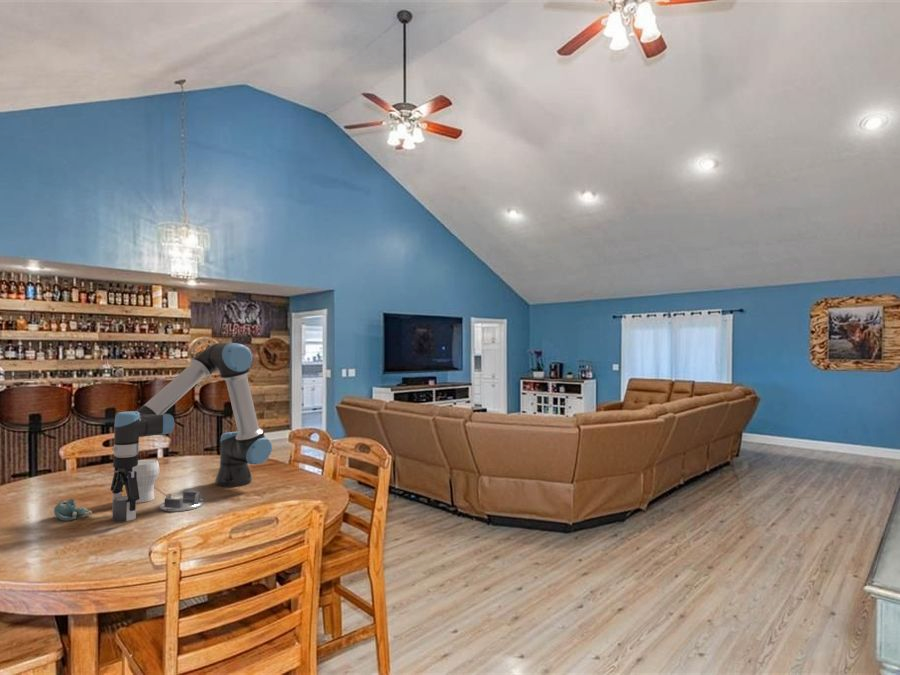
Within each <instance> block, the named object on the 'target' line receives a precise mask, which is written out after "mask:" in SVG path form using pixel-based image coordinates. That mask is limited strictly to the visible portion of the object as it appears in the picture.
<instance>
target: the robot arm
mask: <svg viewBox="0 0 900 675" xmlns="http://www.w3.org/2000/svg"><path fill="white" fill-rule="evenodd" d="M252 355H253V354H252V352H251V350H250V349H249V348H248V347H247V346H246V345H244V344H242V343H237V342H227V343H226V342H225V343H224V342H218V343H214V344H211V345H210V346H208V347H207V348H205V349H204V350H202V351H201V352H200V353H198V354H197V355H196V356H195V357H194V358H192V359H191V361H190V364H189V366H187V367H186V368H185V369H183V371H181V372H180V373H179V374H178V375H177V376H176V377H174V378H173V379H172V380H171V381H170V382H169V383H167V384H166V385H165V386H164V387H162V389H160V390H159V391H158V392H157V393H156V394H154V395H153V396H152V397H151V398H150V399H149V400H148V401H147V402H145V404H143V405H142V406H141V407H140V408H138V409H137V410H134V411H133V410H130V411H129V410H128V411H121V412H120V411H119V412H117V413H116V414H115V416H114V425H113V427H114V429H113V430H114V434H113V438H114V439H113V447H112V450H113V458H112V460H113V462H112V463H113V464H112V466H113V469H114V472H113V473H114V474H113V476H112V480H111V481H112V482H111V485H110V491H111V492H112V501H113V500H114V499H116V498H118V497H122V496H123V492H124V490H123V487H124V489H125V492H126V496H127V497H128V500H127V501H126V502H127V514H126V521H125V522H129V521H133V520H136V519H137V503H136V500H139V498H140V497H139V491H138V484H137V472H136V471H134V472H133V470H132V468H133V467H135V466H137V465H138V461H139V451H140V450H139V449H140V442H139V441H140V438H143V437H151V436H161V435H162V436H163V435H167V434H171V433H172V432H173V431H174V429H175V418H174V416H173V415H171V414H170V413H166V412H167V411H168V410H169V409H171V408H172V407H173V406H174V405H175V404H176V403H177V402H178V401H179V400H180V399H182V398H183V397H184V396H185V395H186V394H187V393H188V392H189V391H190V390H192V388H193V387H195V386H196V385H197V384H198V383H199V382H200V381H201V380H203V379H204V378H205V377H206V378H207V377H210V376H211V375H212V374H214V373H215V372H217V371H218V372H219V374H220V378H221V379H222V380H224V381H225V384H226V387H227V392H228V396H229V399H230V400H229V401H230V403H231V408H232V412H233V413H232V414H233V417H234V421H235V425H236V430H235V431H228V432H224V433H222V434H221V436H220V441H219V443H220V447H219V448H220V455H219V456H220V457H219V469H218V472H217V474H216V477H215V482H214V484H215V485H216V486H217V487H218V486H219V487H223V488H224V487H225V488H226V487H227V488H229V487H239V486H244V485H247V484H250V483H251V482H252V477H253V476H252V473H251V471H250V467H249V464H250V465H262V464H263V463H265V462H267V460H268V459H270V458H269V457H270V455H271V453H272V451H273V444H272V441H271V440H269V439H268V438H267V437H266V436H265V433H264V429H263V428H261V427H260V426H259V423H258V418H257V414H256V410H255V404H254V401H253V397H252V392H251V387H250V382H249V380H248V379H249V378H248V375H249V374H250V372H251V371H250V367H251V365H252V363H253V356H252ZM165 413H166V414H165ZM111 510H112V512H111V513H113V506H112V508H111Z"/></svg>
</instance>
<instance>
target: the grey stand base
mask: <svg viewBox="0 0 900 675" xmlns="http://www.w3.org/2000/svg"><path fill="white" fill-rule="evenodd" d="M204 504H205V500H204V499H203V498H201V491H196V490H195V491H194V490H193V491H191V490H184V491H182V497H179V498H172V494H171V493H168V494H166V495H165V497H164V502H163V503H160V505H159V508H160V511H162V512H168V513H169V512H170V513H179V512H187V511H192V510H196V509H199V508H201V507H202V506H204Z"/></svg>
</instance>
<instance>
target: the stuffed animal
mask: <svg viewBox="0 0 900 675" xmlns="http://www.w3.org/2000/svg"><path fill="white" fill-rule="evenodd" d="M53 513H54V516H55V517H56V518H57V519H58V520H60V521H62V522H69V521H74V520H76V519H77V517H81V516H82V517H88V516H91V515H92V513H93V512H92V510H88V509H87V508H86V507H82V506H79V507H77V502H75V498H70V499H68V500H63V501H61V502H59V503H57V504H56V505H55V506H54V508H53Z"/></svg>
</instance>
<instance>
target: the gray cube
mask: <svg viewBox="0 0 900 675" xmlns="http://www.w3.org/2000/svg"><path fill="white" fill-rule="evenodd" d="M127 500H128V497H127V495H124V496H123V495H122V497H118V498H116V499H114V500H113V499H112V507H113V512H111V514H112V515H111V516H112V518H111V521H112V522H114V523H122V522H127V521H126V514H127V502H126V501H127Z"/></svg>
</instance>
